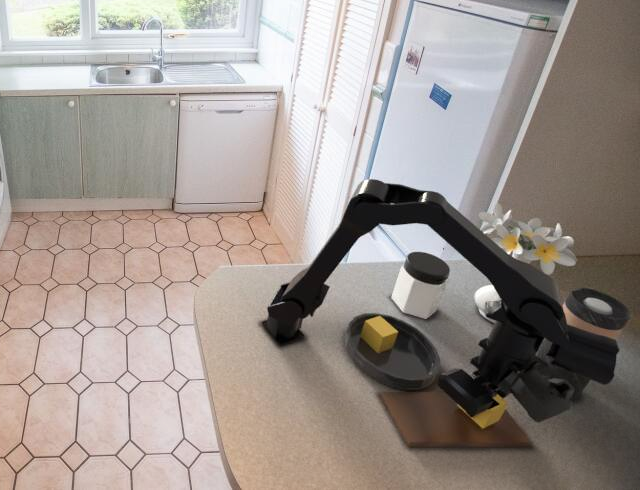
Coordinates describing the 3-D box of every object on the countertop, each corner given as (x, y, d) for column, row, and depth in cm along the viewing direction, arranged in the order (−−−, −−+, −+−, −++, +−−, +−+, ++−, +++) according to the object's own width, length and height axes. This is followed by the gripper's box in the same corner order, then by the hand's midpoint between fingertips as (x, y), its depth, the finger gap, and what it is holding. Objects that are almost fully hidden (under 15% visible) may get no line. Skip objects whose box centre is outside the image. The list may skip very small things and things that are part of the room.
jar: (421, 324, 98) (438, 281, 93) (385, 301, 104) (398, 260, 99) (442, 307, 102) (458, 265, 97) (405, 286, 109) (419, 246, 103)
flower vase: (478, 281, 110) (515, 193, 100) (557, 341, 94) (612, 243, 83) (433, 289, 108) (466, 199, 97) (506, 352, 91) (555, 252, 81)
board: (407, 446, 74) (409, 442, 74) (380, 396, 83) (381, 392, 82) (528, 446, 74) (531, 442, 74) (489, 396, 83) (491, 391, 82)
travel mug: (585, 409, 80) (639, 326, 72) (530, 389, 84) (575, 307, 75) (575, 377, 86) (623, 297, 78) (524, 359, 90) (565, 281, 81)
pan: (391, 403, 81) (395, 391, 80) (326, 336, 95) (329, 324, 94) (455, 376, 86) (460, 364, 85) (385, 316, 100) (388, 305, 99)
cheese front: (482, 428, 75) (491, 411, 73) (456, 405, 79) (464, 387, 77) (499, 420, 76) (508, 403, 74) (472, 397, 80) (481, 380, 78)
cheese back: (377, 353, 91) (383, 337, 89) (360, 336, 94) (365, 320, 92) (392, 347, 92) (398, 331, 90) (374, 331, 96) (379, 315, 94)
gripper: (528, 410, 61) (488, 478, 68) (611, 369, 67) (567, 436, 74) (450, 346, 71) (422, 412, 77) (528, 315, 76) (496, 379, 83)
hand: (478, 410), depth 77 cm, fingers closed on cheese front, 4 cm apart
